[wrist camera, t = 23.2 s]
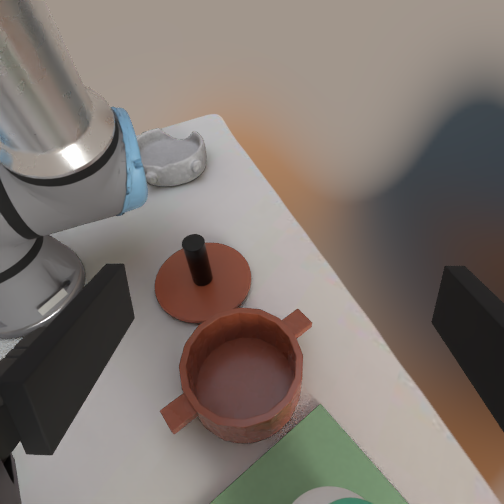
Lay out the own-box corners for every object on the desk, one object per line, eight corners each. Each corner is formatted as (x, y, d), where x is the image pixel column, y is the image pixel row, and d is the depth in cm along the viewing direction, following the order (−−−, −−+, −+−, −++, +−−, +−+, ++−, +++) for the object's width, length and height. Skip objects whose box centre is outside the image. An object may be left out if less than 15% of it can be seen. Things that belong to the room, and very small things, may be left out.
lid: (140, 278, 52) (120, 237, 45) (216, 234, 56) (208, 191, 50) (188, 345, 44) (172, 308, 38) (270, 288, 49) (269, 246, 43)
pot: (151, 390, 41) (134, 368, 36) (270, 305, 47) (269, 277, 43) (210, 491, 34) (199, 481, 30) (339, 376, 41) (347, 353, 36)
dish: (140, 150, 73) (132, 128, 69) (207, 143, 73) (203, 121, 70) (131, 196, 64) (122, 173, 60) (209, 188, 64) (204, 164, 60)
